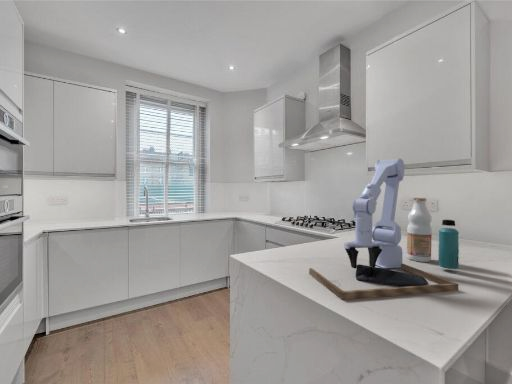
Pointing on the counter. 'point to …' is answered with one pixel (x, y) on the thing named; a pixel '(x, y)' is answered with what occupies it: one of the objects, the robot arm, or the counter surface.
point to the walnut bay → (368, 293)
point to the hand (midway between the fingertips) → (362, 267)
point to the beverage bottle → (448, 246)
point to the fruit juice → (419, 232)
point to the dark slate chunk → (388, 276)
